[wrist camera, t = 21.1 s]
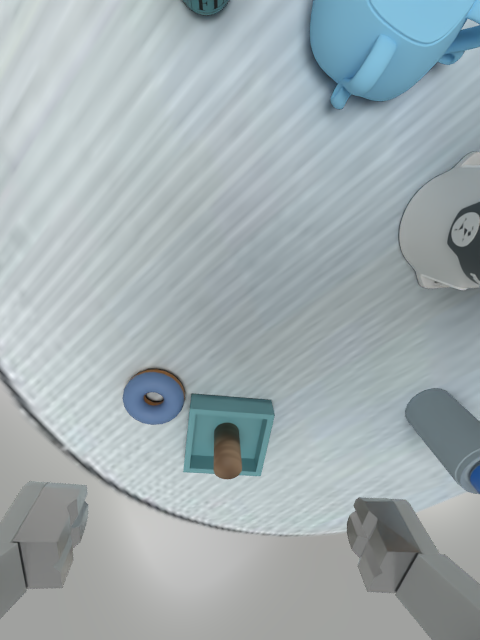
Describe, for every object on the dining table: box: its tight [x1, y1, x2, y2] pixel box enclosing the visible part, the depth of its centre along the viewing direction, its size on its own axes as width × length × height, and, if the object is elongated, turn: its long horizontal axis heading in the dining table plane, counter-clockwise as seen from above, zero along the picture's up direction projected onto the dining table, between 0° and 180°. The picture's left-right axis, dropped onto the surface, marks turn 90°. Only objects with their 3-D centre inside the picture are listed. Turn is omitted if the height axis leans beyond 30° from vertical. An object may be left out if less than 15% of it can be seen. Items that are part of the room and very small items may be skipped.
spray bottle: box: [405, 389, 480, 494], centre depth 48 cm, size 9×9×25 cm
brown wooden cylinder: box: [214, 423, 242, 479], centre depth 54 cm, size 4×4×8 cm
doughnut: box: [123, 369, 185, 425], centre depth 53 cm, size 10×10×5 cm
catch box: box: [183, 394, 275, 476], centre depth 56 cm, size 14×14×4 cm
